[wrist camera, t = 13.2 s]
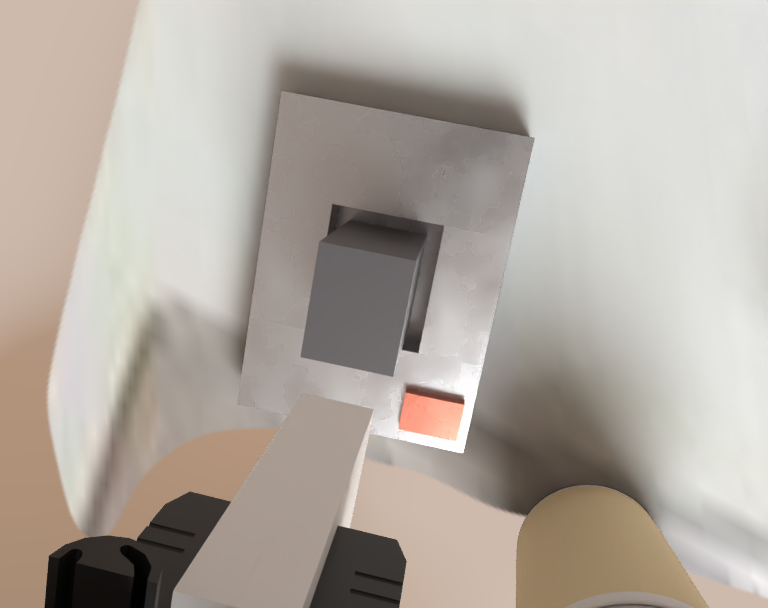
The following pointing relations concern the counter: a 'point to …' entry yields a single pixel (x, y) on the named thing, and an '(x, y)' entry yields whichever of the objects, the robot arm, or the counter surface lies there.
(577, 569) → the coffee cup
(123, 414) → the counter surface
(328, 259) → the plug
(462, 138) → the socket plate
